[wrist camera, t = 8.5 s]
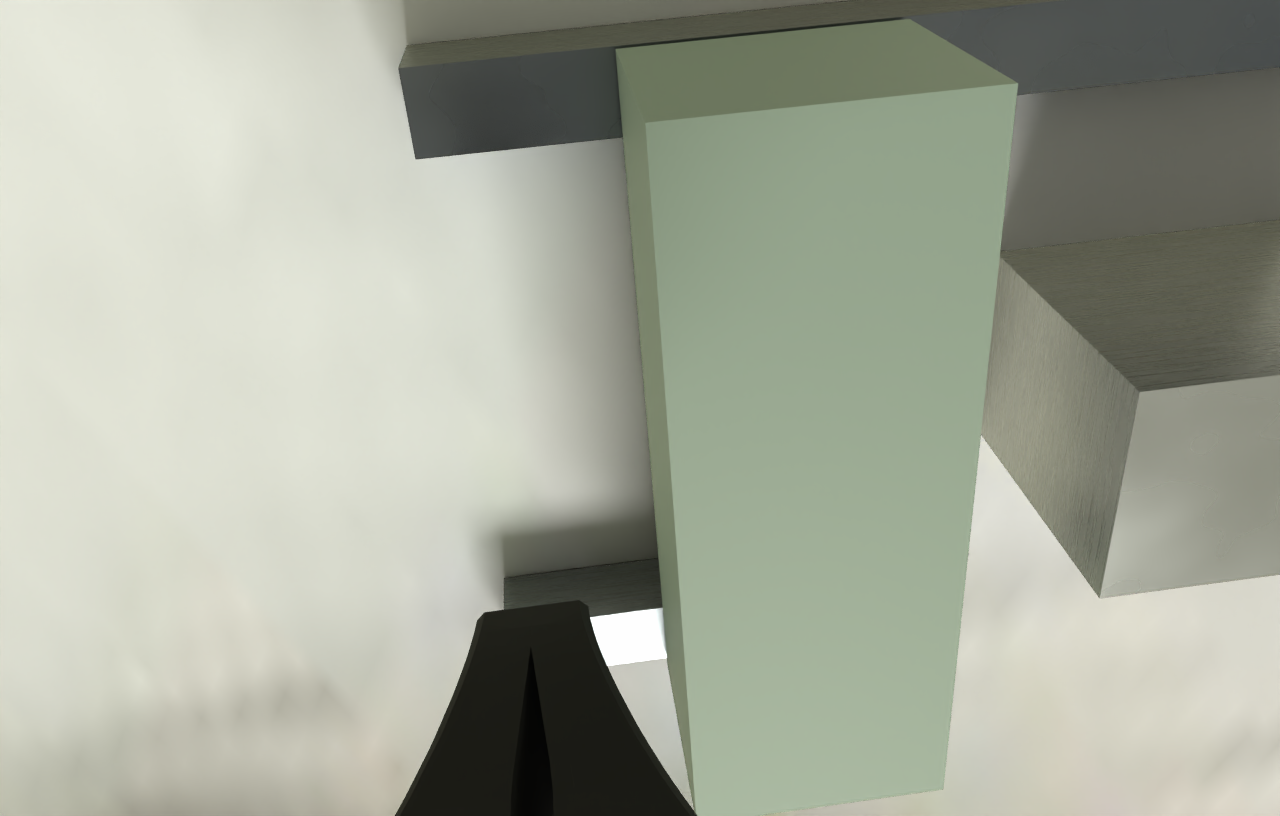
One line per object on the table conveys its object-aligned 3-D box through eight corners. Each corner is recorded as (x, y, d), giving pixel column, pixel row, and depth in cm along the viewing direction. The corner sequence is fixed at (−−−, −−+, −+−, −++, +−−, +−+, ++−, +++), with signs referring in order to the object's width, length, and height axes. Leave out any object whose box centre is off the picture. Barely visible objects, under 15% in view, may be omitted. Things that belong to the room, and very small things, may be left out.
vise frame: (1643, -80, 18) (1987, -37, 14) (1423, 507, 25) (1613, 658, 21) (407, 45, 17) (374, 132, 13) (512, 626, 24) (514, 813, 19)
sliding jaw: (899, 0, 17) (1043, 80, 13) (871, 591, 24) (959, 786, 19) (607, 30, 17) (645, 123, 12) (659, 620, 24) (696, 824, 19)
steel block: (1293, 216, 21) (1523, 345, 16) (1248, 393, 23) (1441, 553, 18) (994, 251, 20) (1139, 392, 16) (975, 426, 22) (1099, 598, 18)
